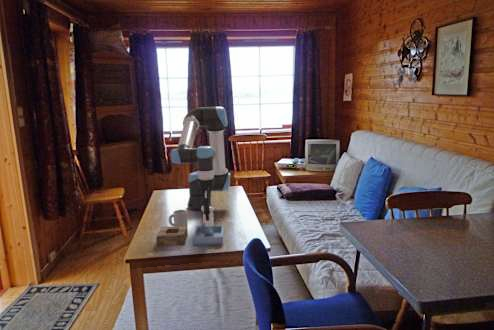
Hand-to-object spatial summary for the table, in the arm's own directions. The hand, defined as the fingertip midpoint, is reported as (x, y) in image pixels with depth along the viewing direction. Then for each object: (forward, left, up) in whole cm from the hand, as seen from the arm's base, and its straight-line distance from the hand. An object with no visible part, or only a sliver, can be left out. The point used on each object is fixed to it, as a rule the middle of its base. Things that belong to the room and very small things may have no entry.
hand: (208, 223), depth 179 cm
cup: (-18, -18, -8) cm, 27 cm away
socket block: (0, -18, -8) cm, 20 cm away
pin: (0, 0, -7) cm, 7 cm away
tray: (0, 0, -8) cm, 8 cm away
